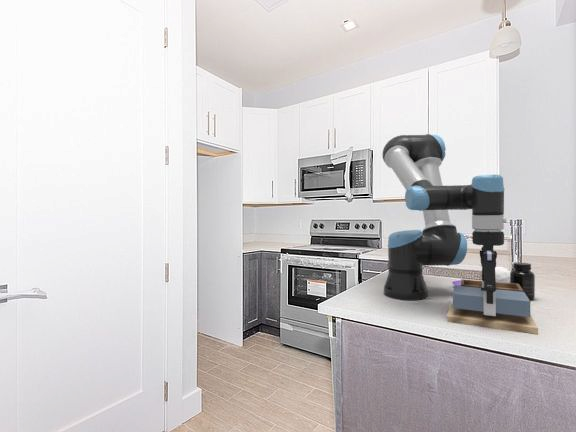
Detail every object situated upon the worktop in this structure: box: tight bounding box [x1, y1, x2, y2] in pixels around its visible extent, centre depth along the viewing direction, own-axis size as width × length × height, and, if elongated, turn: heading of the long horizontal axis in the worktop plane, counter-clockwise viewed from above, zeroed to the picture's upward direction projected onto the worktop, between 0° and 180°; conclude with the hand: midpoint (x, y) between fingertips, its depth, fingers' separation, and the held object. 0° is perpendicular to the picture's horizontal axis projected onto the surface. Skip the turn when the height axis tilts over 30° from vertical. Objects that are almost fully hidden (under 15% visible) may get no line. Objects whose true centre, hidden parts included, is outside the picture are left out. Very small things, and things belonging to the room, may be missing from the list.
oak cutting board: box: [446, 302, 539, 335], centre depth 89 cm, size 20×14×2 cm
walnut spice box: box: [460, 278, 523, 292], centre depth 101 cm, size 16×9×7 cm, turn 60°
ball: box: [495, 266, 511, 283], centre depth 127 cm, size 8×8×8 cm
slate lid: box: [452, 285, 531, 317], centre depth 89 cm, size 17×10×4 cm, turn 60°
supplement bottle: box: [509, 261, 536, 302], centre depth 109 cm, size 7×7×12 cm
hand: (488, 309), depth 89 cm, fingers closed on slate lid, 10 cm apart
